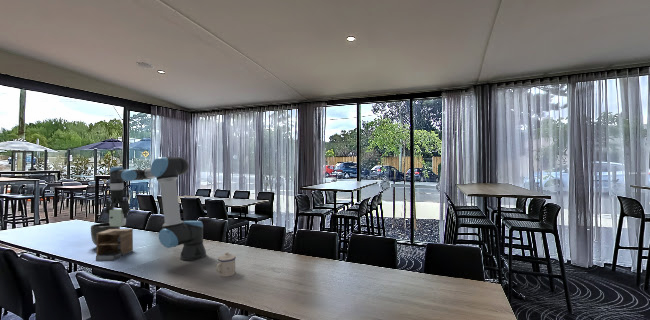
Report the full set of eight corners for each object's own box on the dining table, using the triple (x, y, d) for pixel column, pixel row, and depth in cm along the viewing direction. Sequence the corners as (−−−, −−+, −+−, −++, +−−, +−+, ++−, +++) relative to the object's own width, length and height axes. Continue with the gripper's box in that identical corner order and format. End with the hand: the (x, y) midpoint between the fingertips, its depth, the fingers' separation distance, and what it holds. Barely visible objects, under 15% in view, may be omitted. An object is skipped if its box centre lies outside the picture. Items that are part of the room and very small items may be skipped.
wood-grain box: (132, 250, 207) (132, 228, 207) (120, 256, 195) (120, 233, 195) (109, 250, 207) (109, 229, 207) (96, 256, 195) (96, 233, 195)
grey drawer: (123, 255, 195) (123, 237, 195) (113, 260, 187) (113, 240, 187) (106, 256, 195) (106, 237, 195) (96, 260, 187) (95, 240, 187)
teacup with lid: (227, 269, 168) (226, 249, 168) (239, 272, 164) (239, 251, 164) (210, 277, 157) (209, 255, 157) (222, 280, 153) (222, 257, 153)
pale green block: (125, 224, 204) (125, 208, 204) (120, 226, 199) (120, 210, 199) (114, 225, 204) (113, 209, 204) (108, 226, 199) (108, 210, 199)
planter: (84, 248, 213) (84, 226, 213) (108, 242, 229) (108, 221, 229) (102, 250, 208) (102, 227, 208) (125, 243, 224) (125, 222, 224)
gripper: (135, 188, 206) (136, 221, 206) (105, 189, 206) (106, 222, 206) (128, 189, 199) (129, 223, 198) (97, 190, 199) (98, 224, 199)
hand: (117, 223), depth 202 cm, fingers closed on pale green block, 8 cm apart
